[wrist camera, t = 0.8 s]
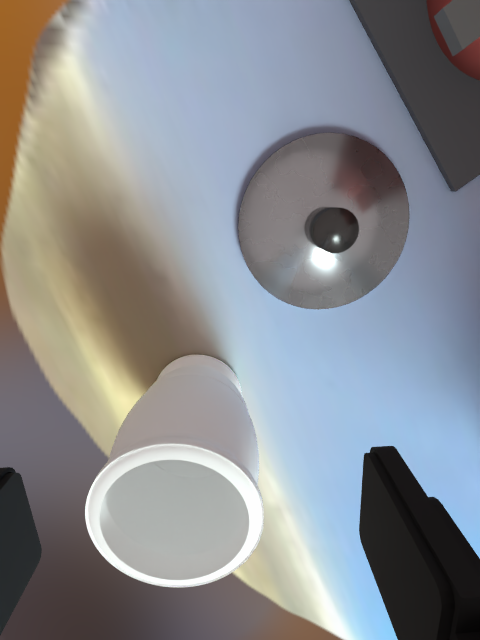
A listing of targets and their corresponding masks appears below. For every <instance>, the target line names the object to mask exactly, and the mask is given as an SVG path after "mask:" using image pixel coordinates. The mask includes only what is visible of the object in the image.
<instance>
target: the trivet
mask: <svg viewBox="0 0 480 640" xmlns="http://www.w3.org/2000/svg"><path fill="white" fill-rule="evenodd" d="M349 1H350V2H351V4H352V6H353V8H354V10H355V12H356V14H357V16H358V17H359V19H360V21H361V23H362V25H363V27H364V29H365V30H366V32H367V34H368V36H369V38H370V40H371V42H372V44H373V45H374V47H375V49H376V51H377V53H378V55H379V57H380V59H381V60H382V62H383V64H384V66H385V68H386V70H387V72H388V73H389V75H390V77H391V79H392V81H393V83H394V85H395V87H396V88H397V90H398V92H399V94H400V96H401V98H402V100H403V102H404V103H405V105H406V107H407V109H408V111H409V113H410V115H411V117H412V118H413V120H414V122H415V124H416V126H417V128H418V130H419V131H420V133H421V135H422V137H423V139H424V141H425V143H426V145H427V146H428V148H429V150H430V152H431V154H432V156H433V158H434V160H435V161H436V163H437V165H438V167H439V169H440V171H441V173H442V175H443V176H444V178H445V180H446V182H447V184H448V186H449V188H450V189H451V191H457V190H458V189H460V188H461V187H463V186H464V185H465V184H467V183H468V182H470V181H471V180H473V179H474V178H475V177H477V176H478V175H480V80H477V79H475V78H472V77H470V76H468V75H466V74H465V73H463V72H462V71H460V70H459V69H458V68H457V67H456V66H454V65H453V64H452V63H451V62H450V61H449V59H448V58H447V57H446V56H445V54H444V53H443V52H442V50H441V48H440V46H439V45H438V43H437V41H436V38H435V36H434V33H433V31H432V28H431V24H430V20H429V16H428V9H427V0H349Z"/></svg>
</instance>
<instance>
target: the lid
mask: <svg viewBox="0 0 480 640" xmlns="http://www.w3.org/2000/svg"><path fill="white" fill-rule="evenodd" d="M408 227H409V203H408V197H407V193H406V189H405V186H404V183H403V181H402V179H401V177H400V175H399V173H398V171H397V170H396V168H395V167H394V165H393V164H392V162H391V161H390V160H389V159H388V158H387V157H386V156H385V154H383V153H382V152H381V151H380V150H379V149H377V148H376V147H375V146H373V145H371V144H370V143H368V142H366V141H364V140H362V139H359V138H357V137H354V136H350V135H346V134H340V133H318V134H313V135H308V136H305V137H302V138H299V139H297V140H294V141H292V142H290V143H289V144H287V145H285V146H283V147H282V148H280V149H279V150H278V151H276V152H275V153H274V154H272V155H271V156H270V157H269V158H268V159H267V160H266V161H265V162H264V163H263V164H262V166H261V167H260V168H259V169H258V170H257V172H256V173H255V175H254V176H253V178H252V179H251V181H250V183H249V185H248V187H247V189H246V191H245V194H244V197H243V200H242V203H241V207H240V212H239V222H238V231H239V241H240V246H241V250H242V253H243V257H244V260H245V262H246V264H247V266H248V268H249V270H250V271H251V273H252V274H253V276H254V278H255V279H256V280H257V281H258V282H259V283H260V285H261V286H262V287H263V288H264V289H266V290H267V291H268V292H269V293H270V294H272V295H273V296H275V297H276V298H278V299H280V300H282V301H284V302H286V303H288V304H291V305H294V306H297V307H301V308H306V309H329V308H335V307H339V306H342V305H346V304H349V303H351V302H353V301H355V300H358V299H359V298H361V297H363V296H364V295H366V294H368V293H369V292H370V291H372V290H373V289H374V288H375V287H377V286H378V285H379V284H380V283H381V282H382V281H383V280H384V279H385V277H386V276H387V275H388V274H389V273H390V271H391V270H392V268H393V267H394V265H395V264H396V262H397V260H398V258H399V256H400V254H401V252H402V250H403V247H404V244H405V241H406V237H407V233H408Z"/></svg>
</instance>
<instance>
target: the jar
mask: <svg viewBox="0 0 480 640" xmlns="http://www.w3.org/2000/svg"><path fill="white" fill-rule="evenodd" d="M258 474H259V453H258V444H257V438H256V433H255V429H254V426H253V423H252V420H251V418H250V415H249V413H248V409H247V406H246V404H245V401H244V399H243V397H242V390H241V386H240V383H239V380H238V378H237V376H236V375H235V373H234V372H233V371H232V370H231V369H230V368H229V367H228V366H227V365H226V364H225V363H223V362H222V361H220V360H218V359H216V358H213V357H210V356H206V355H188V356H184V357H181V358H178V359H176V360H174V361H173V362H171V363H170V364H168V365H167V366H166V367H165V368H164V369H163V370H162V372H161V373H160V375H159V376H158V378H157V381H156V382H154V383H153V384H152V385H151V387H150V388H149V389H148V390H147V391H146V392H145V394H144V395H143V396H142V397H141V398H140V399H139V400H138V401H137V402H136V404H135V405H134V406H133V408H132V409H131V410H130V412H129V413H128V415H127V416H126V418H125V420H124V422H123V423H122V425H121V427H120V429H119V431H118V434H117V436H116V439H115V441H114V444H113V447H112V450H111V453H110V457H109V461H108V462H107V463H106V464H105V466H104V467H103V468H102V470H101V471H100V472H99V474H98V475H97V477H96V479H95V481H94V483H93V485H92V487H91V489H90V491H89V494H88V497H87V501H86V508H85V517H86V524H87V528H88V532H89V534H90V537H91V539H92V541H93V543H94V545H95V546H96V548H97V549H98V551H99V552H100V553H101V554H102V555H103V557H104V558H105V559H106V560H107V561H108V562H110V563H111V564H112V565H113V566H114V567H116V568H117V569H118V570H120V571H122V572H123V573H125V574H127V575H128V576H130V577H133V578H135V579H137V580H140V581H143V582H146V583H149V584H153V585H158V586H165V587H192V586H198V585H203V584H207V583H210V582H213V581H216V580H218V579H220V578H223V577H225V576H227V575H228V574H230V573H232V572H233V571H235V570H236V569H237V568H239V567H240V566H241V565H242V564H243V563H244V562H245V561H246V560H247V559H248V558H249V557H250V556H251V554H252V553H253V551H254V550H255V548H256V547H257V545H258V543H259V540H260V538H261V534H262V530H263V524H264V513H263V502H262V497H261V493H260V490H259V488H258Z"/></svg>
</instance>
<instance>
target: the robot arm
mask: <svg viewBox="0 0 480 640" xmlns="http://www.w3.org/2000/svg"><path fill="white" fill-rule="evenodd" d="M359 532H360V539H361V543H362V546H363V549H364V551H365V554H366V557H367V559H368V562H369V565H370V567H371V570H372V572H373V575H374V578H375V580H376V583H377V586H378V588H379V591H380V594H381V596H382V599H383V602H384V604H385V607H386V610H387V612H388V615H389V618H390V620H391V623H392V625H393V628H394V631H395V633H396V636H397V639H398V640H480V559H479V557H478V556H477V554H476V553H475V551H474V550H473V548H472V547H471V546H470V544H469V543H468V541H467V540H466V538H465V537H464V535H463V534H462V533H461V531H460V530H459V528H458V527H457V525H456V524H455V522H454V521H453V520H452V518H451V517H450V515H449V514H448V512H447V511H446V509H445V508H444V506H443V505H442V504H441V503H440V501H439V500H438V499H436V498H435V497H428V496H427V495H426V493H425V492H424V490H423V489H422V487H421V486H420V484H419V483H418V481H417V480H416V478H415V477H414V475H413V474H412V472H411V471H410V469H409V468H408V466H407V465H406V463H405V462H404V460H403V459H402V457H401V456H400V454H399V453H398V451H397V449H396V448H395V447H393V446H383V447H372V448H371V450H370V453H365V454H364V462H363V478H362V494H361V510H360V526H359ZM40 558H41V544H40V541H39V537H38V534H37V530H36V527H35V523H34V520H33V516H32V512H31V509H30V505H29V502H28V498H27V495H26V491H25V488H24V485H23V481H22V477H21V475H20V474H19V473H16V472H15V470H14V469H13V468H10V467H8V468H0V635H1V633H2V631H3V629H4V627H5V625H6V623H7V621H8V620H9V618H10V616H11V614H12V612H13V610H14V608H15V607H16V605H17V603H18V601H19V599H20V597H21V595H22V593H23V591H24V590H25V588H26V586H27V584H28V582H29V580H30V578H31V577H32V574H33V572H34V571H35V569H36V567H37V565H38V563H39V561H40Z"/></svg>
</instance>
